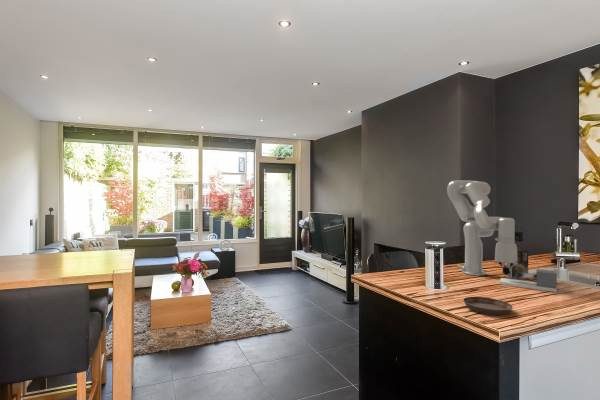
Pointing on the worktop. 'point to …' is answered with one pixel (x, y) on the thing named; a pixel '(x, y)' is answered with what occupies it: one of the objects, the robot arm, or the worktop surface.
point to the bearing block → (546, 278)
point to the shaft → (524, 275)
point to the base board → (524, 284)
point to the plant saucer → (487, 305)
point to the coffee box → (519, 264)
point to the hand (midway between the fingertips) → (506, 274)
